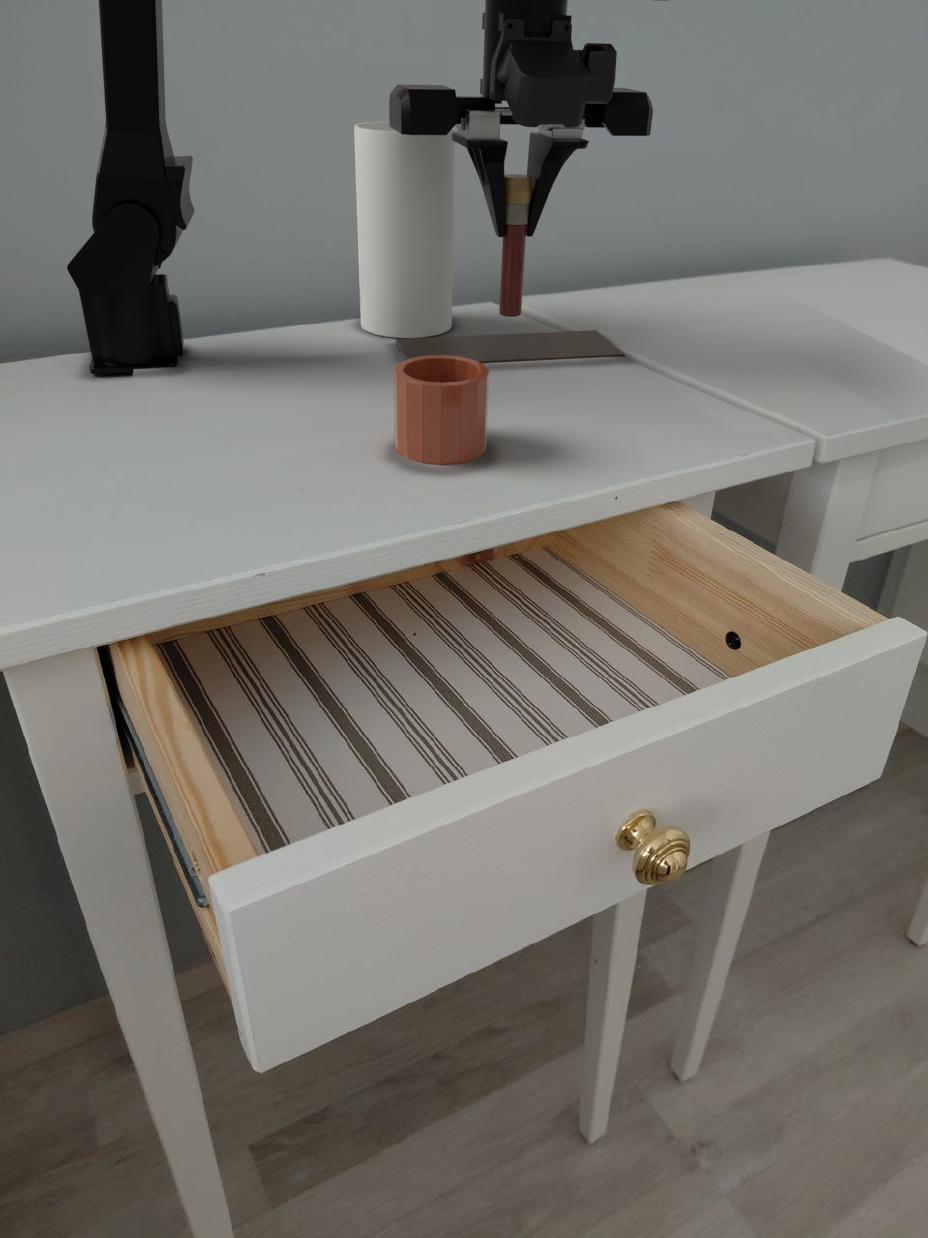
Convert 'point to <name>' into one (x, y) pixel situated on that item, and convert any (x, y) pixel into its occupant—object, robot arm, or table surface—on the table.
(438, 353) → the mat
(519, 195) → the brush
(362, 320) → the cup
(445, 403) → the pot
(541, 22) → the robot arm
